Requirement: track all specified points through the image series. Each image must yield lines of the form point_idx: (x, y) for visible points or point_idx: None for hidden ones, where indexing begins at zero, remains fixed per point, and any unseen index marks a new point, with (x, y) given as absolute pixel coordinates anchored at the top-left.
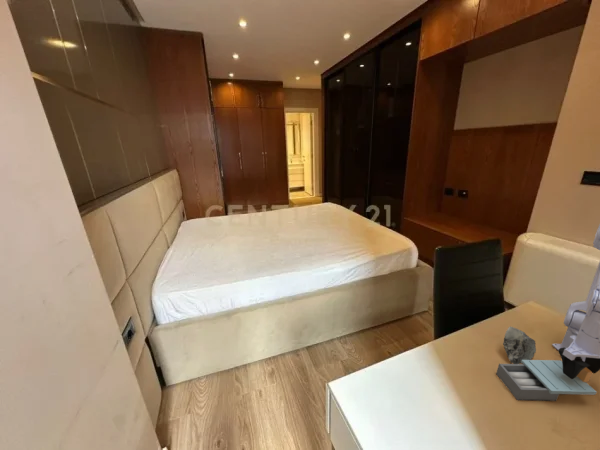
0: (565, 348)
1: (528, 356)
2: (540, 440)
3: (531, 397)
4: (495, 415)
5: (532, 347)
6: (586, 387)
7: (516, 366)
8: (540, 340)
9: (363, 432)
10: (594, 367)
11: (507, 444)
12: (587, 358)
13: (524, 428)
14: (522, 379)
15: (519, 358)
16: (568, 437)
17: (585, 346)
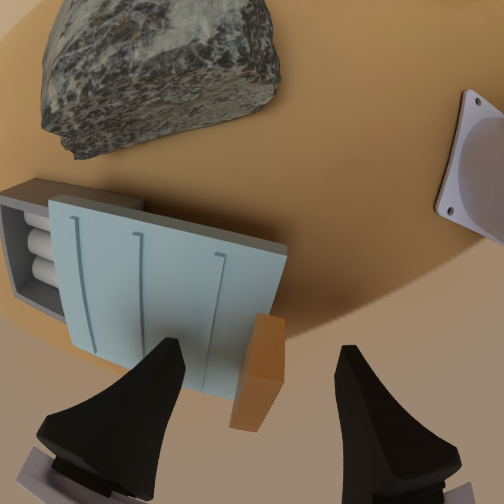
0: (84, 462)
1: (188, 122)
2: (51, 340)
3: None
4: (3, 282)
5: (215, 94)
6: (219, 384)
7: (36, 212)
8: (442, 46)
9: None
10: (341, 401)
11: (10, 320)
12: (360, 398)
13: (35, 318)
14: (50, 250)
15: (91, 152)
16: (101, 360)
17: None
